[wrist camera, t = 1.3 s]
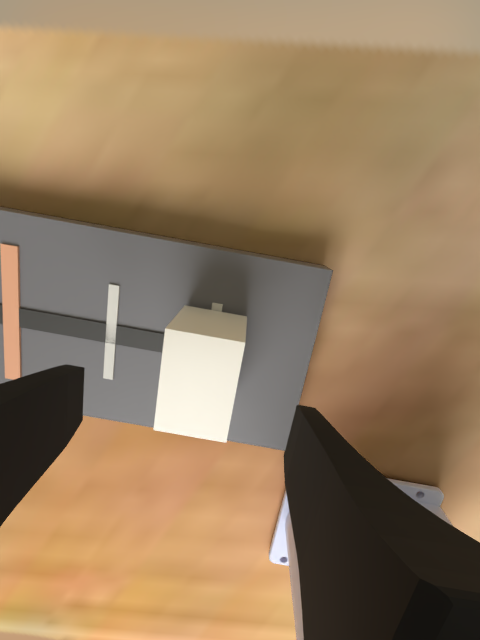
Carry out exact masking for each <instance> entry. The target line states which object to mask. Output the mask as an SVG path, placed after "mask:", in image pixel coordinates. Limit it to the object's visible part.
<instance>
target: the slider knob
mask: <svg viewBox="0 0 480 640" xmlns="http://www.w3.org/2000/svg"><path fill="white" fill-rule="evenodd" d="M246 327H247V316H242V315H236V314H230V313H225V312H219V311H214V310H208V309H203V308H197V307H192V306H186V305H185V306H184V307H183V308H182V309H181V310H180V312H179V313H178V314H177V315H176V316H175V317H174V319H173V320H172V321H171V322H170V323H169V324H168V326H167V327H166V328H165V334H164V342H163V351H162V360H161V368H160V377H159V386H158V394H157V403H156V412H155V420H154V429H153V430H156V431H162V432H168V433H173V434H179V435H185V436H190V437H196V438H202V439H208V440H213V441H219V442H225V443H226V441H227V436H228V431H229V426H230V420H231V415H232V410H233V405H234V400H235V394H236V389H237V384H238V379H239V374H240V368H241V363H242V358H243V353H244V348H245V342H246Z"/></svg>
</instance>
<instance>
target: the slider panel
mask: <svg viewBox="0 0 480 640" xmlns="http://www.w3.org/2000/svg"><path fill="white" fill-rule="evenodd" d="M332 273H333V270H331V269H329V268H328V267H326V266H324V265H319V264H313V263H308V262H302V261H297V260H291V259H286V258H280V257H275V256H269V255H264V254H258V253H253V252H247V251H242V250H236V249H231V248H225V247H220V246H214V245H209V244H203V243H198V242H192V241H187V240H181V239H176V238H170V237H165V236H159V235H154V234H148V233H143V232H137V231H132V230H126V229H121V228H115V227H110V226H104V225H99V224H93V223H88V222H82V221H77V220H71V219H66V218H60V217H55V216H49V215H44V214H38V213H33V212H27V211H22V210H16V209H11V208H5V207H0V384H1V383H5V382H8V381H11V380H14V379H17V378H20V377H24V376H27V375H30V374H33V373H36V372H39V371H43V370H46V369H49V368H53V367H57V366H61V365H66V364H67V365H73V366H79V367H85V371H84V395H83V415H85V416H90V417H96V418H102V419H107V420H113V421H119V422H124V423H130V424H136V425H142V426H147V427H153V428H154V420H155V412H156V403H157V394H158V386H159V377H160V368H161V360H162V351H163V342H164V334H165V328H166V327H167V326H168V324H169V323H170V322H171V321H172V320H173V319H174V317H175V316H176V315H177V314H178V313H179V312H180V310H181V309H182V308H183V307H184V306H185V305H186V306H192V307H197V308H203V309H208V310H214V311H219V312H225V313H230V314H236V315H242V316H247V327H246V342H245V348H244V353H243V358H242V363H241V368H240V374H239V379H238V384H237V389H236V394H235V400H234V405H233V410H232V415H231V420H230V426H229V431H228V436H227V441H233V442H238V443H244V444H250V445H255V446H261V447H267V448H273V449H278V450H284V451H285V449H286V445H287V441H288V437H289V433H290V430H291V426H292V422H293V418H294V414H295V410H296V406H297V405H299V401H300V397H301V393H302V389H303V386H304V382H305V378H306V374H307V370H308V366H309V362H310V358H311V354H312V351H313V347H314V343H315V339H316V335H317V331H318V327H319V323H320V319H321V315H322V312H323V308H324V304H325V300H326V296H327V292H328V288H329V284H330V280H331V276H332Z"/></svg>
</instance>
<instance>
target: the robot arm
mask: <svg viewBox="0 0 480 640" xmlns="http://www.w3.org/2000/svg"><path fill="white" fill-rule="evenodd" d="M84 371H85V367H79V366H73V365H67V364H66V365H61V366H57V367H53V368H49V369H46V370H43V371H39V372H36V373H33V374H30V375H27V376H24V377H20V378H17V379H14V380H11V381H8V382H5V383H1V384H0V526H1V525H2V524H3V522H4V521H5V520H6V518H7V517H8V516H9V514H10V513H11V512H12V511H13V509H14V508H15V507H16V506H17V504H18V503H19V502H20V501H21V500H22V498H23V497H24V496H25V495H26V494H27V493H28V491H29V490H30V489H31V488H32V487H33V485H34V484H35V483H36V482H37V481H38V480H39V478H40V477H41V476H42V475H43V474H44V472H45V471H46V470H47V469H48V468H49V466H50V465H51V464H52V463H53V462H54V460H55V459H56V458H57V457H58V456H59V454H60V453H61V452H62V451H63V449H64V448H65V447H66V446H67V444H68V443H69V441H70V440H71V438H72V437H73V435H74V433H75V432H76V430H77V428H78V427H79V425H80V424H81V422H82V420H83V395H84ZM284 473H285V487H286V490H285V494H284V497H283V501H282V505H281V509H280V512H279V516H278V520H277V524H276V527H275V531H274V535H273V539H272V542H271V546H270V550H269V559H270V561H271V562H272V563H275V564H281V565H287V566H289V572H290V581H291V591H292V600H293V610H294V620H295V629H296V639H297V640H480V543H479V542H478V541H476V540H474V539H473V538H471V537H469V536H468V535H466V534H464V533H463V532H461V531H460V530H458V529H456V528H455V527H453V525H452V524H451V522H450V521H449V519H448V518H447V516H446V515H445V513H444V512H443V510H442V509H441V507H440V505H441V503H442V501H443V499H444V494H443V493H442V491H441V490H440V489H439V488H438V487H434V486H428V485H422V484H417V483H411V482H405V481H399V480H394V479H388V478H386V477H384V476H383V475H382V474H381V473H380V472H379V471H377V470H376V469H375V468H374V467H373V466H372V465H371V464H370V463H369V462H368V461H366V460H365V459H364V458H363V457H362V456H361V455H360V454H359V453H358V452H357V451H356V450H355V449H354V448H353V447H352V446H351V445H350V444H349V443H348V442H347V441H346V440H345V439H344V438H343V437H342V436H341V435H340V434H339V433H338V432H337V431H336V429H335V428H334V427H333V426H332V425H331V424H330V423H329V422H328V421H327V420H326V419H325V418H324V417H323V416H322V414H321V413H320V412H319V411H318V410H316V409H315V408H312V407H307V406H301V405H297V406H296V410H295V414H294V418H293V422H292V426H291V430H290V433H289V437H288V441H287V445H286V449H285V453H284ZM417 492H419V493H417Z"/></svg>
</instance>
